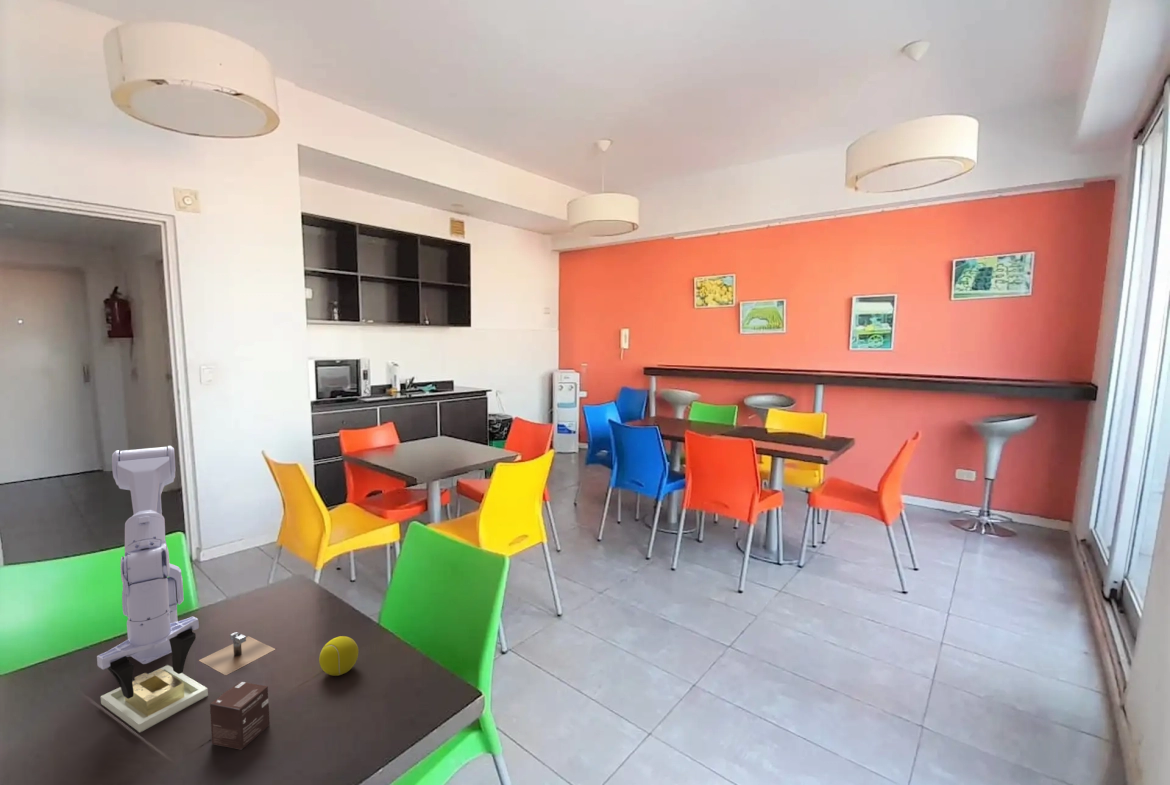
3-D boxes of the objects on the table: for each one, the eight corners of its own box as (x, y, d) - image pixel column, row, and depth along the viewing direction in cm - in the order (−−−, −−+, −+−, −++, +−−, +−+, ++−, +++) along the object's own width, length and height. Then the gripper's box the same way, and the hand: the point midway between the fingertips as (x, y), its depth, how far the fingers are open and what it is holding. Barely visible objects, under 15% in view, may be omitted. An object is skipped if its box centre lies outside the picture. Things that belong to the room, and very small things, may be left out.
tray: (101, 705, 93) (100, 696, 93) (168, 673, 103) (167, 664, 102) (140, 734, 87) (139, 724, 87) (207, 697, 96) (207, 688, 96)
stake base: (198, 662, 106) (198, 660, 106) (248, 637, 115) (248, 636, 115) (225, 677, 102) (225, 675, 102) (275, 650, 111) (275, 649, 111)
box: (241, 751, 84) (238, 710, 83) (210, 745, 85) (208, 704, 84) (270, 724, 90) (269, 685, 89) (241, 718, 91) (240, 680, 90)
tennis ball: (339, 658, 109) (338, 626, 108) (365, 665, 106) (365, 633, 106) (312, 678, 102) (310, 645, 101) (339, 686, 100) (338, 652, 99)
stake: (230, 654, 108) (229, 634, 108) (237, 650, 110) (236, 631, 109) (240, 659, 107) (239, 639, 106) (247, 655, 108) (246, 636, 108)
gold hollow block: (147, 717, 90) (146, 701, 90) (122, 698, 95) (121, 683, 94) (184, 697, 95) (183, 682, 95) (158, 681, 100) (157, 666, 99)
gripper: (108, 639, 85) (114, 716, 86) (205, 601, 98) (209, 668, 99) (89, 628, 88) (95, 701, 89) (186, 592, 101) (190, 657, 102)
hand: (154, 683), depth 94 cm, fingers open, 7 cm apart
